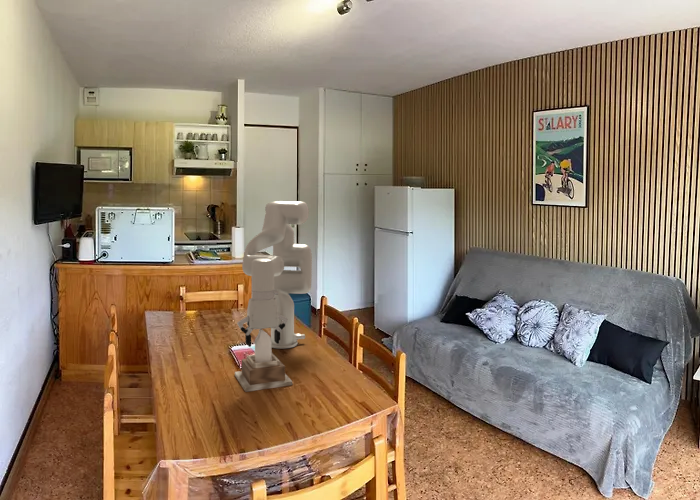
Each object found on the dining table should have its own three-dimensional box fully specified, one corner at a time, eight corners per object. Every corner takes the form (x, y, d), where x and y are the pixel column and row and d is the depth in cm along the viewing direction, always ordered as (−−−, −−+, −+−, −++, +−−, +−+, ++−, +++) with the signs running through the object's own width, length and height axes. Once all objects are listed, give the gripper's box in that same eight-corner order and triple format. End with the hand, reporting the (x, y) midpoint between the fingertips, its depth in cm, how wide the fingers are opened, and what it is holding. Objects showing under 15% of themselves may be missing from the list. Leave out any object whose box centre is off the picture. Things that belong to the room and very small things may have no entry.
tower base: (278, 369, 193) (278, 348, 192) (292, 384, 179) (292, 362, 178) (234, 375, 186) (234, 354, 185) (245, 391, 172) (245, 369, 171)
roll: (275, 327, 182) (265, 331, 177) (274, 361, 183) (265, 366, 178) (260, 325, 184) (250, 329, 179) (260, 358, 186) (251, 363, 181)
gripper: (284, 291, 186) (284, 338, 188) (234, 294, 179) (235, 343, 181) (290, 295, 179) (290, 344, 181) (239, 299, 172) (240, 350, 174)
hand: (263, 344), depth 181 cm, fingers open, 9 cm apart
